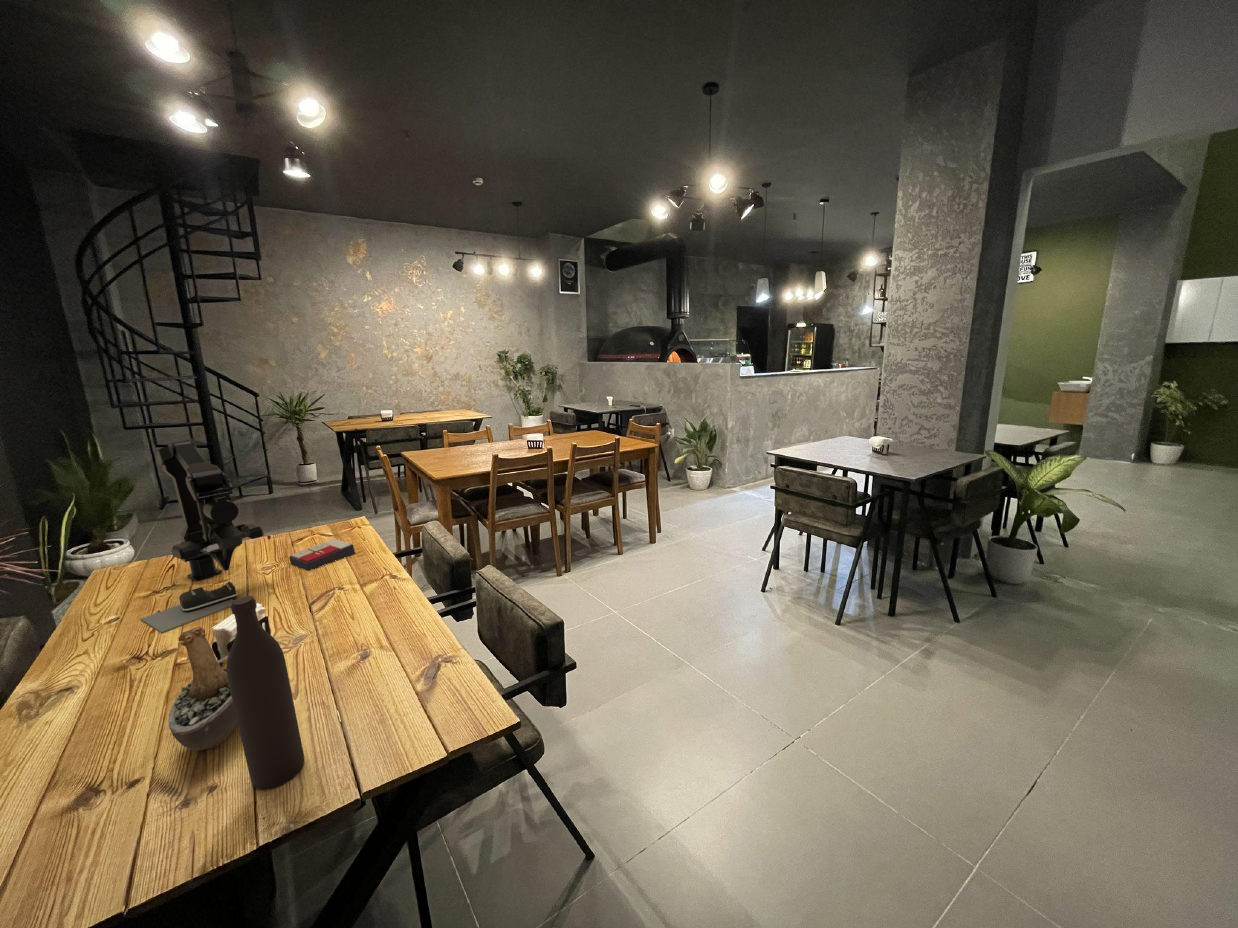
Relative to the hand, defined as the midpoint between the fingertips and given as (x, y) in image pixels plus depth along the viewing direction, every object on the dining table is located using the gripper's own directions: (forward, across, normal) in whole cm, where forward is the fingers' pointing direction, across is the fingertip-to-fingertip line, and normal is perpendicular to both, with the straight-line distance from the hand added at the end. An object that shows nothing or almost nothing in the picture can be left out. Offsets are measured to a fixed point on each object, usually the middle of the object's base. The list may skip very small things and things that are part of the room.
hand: (226, 570), depth 133 cm
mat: (+8, -9, 0) cm, 12 cm away
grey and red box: (+9, +27, +3) cm, 29 cm away
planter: (+8, -25, -56) cm, 62 cm away
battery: (+6, +1, 0) cm, 6 cm away
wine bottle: (+8, -25, -75) cm, 80 cm away
